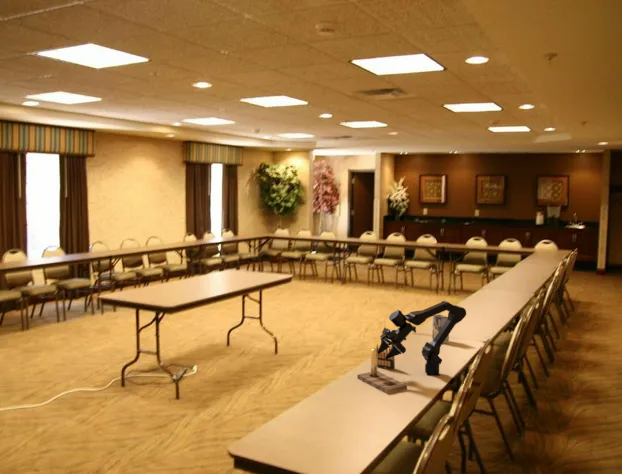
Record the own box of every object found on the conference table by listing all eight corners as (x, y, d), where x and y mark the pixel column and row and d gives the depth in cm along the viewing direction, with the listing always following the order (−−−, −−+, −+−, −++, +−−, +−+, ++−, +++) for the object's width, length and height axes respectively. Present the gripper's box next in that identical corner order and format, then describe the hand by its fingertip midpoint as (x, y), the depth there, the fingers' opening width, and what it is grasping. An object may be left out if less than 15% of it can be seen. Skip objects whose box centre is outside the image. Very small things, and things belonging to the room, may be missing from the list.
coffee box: (449, 343, 347) (450, 317, 346) (440, 344, 344) (441, 318, 343) (439, 339, 355) (440, 314, 354) (431, 340, 353) (432, 315, 351)
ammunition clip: (374, 366, 300) (375, 344, 299) (375, 365, 302) (376, 343, 301) (393, 369, 295) (394, 347, 294) (394, 368, 297) (395, 346, 296)
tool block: (357, 378, 281) (357, 374, 281) (376, 374, 287) (376, 370, 286) (386, 393, 260) (386, 389, 260) (406, 389, 266) (407, 385, 266)
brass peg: (377, 378, 280) (377, 348, 279) (377, 381, 277) (377, 350, 276) (370, 378, 280) (371, 348, 279) (370, 380, 277) (371, 350, 276)
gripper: (384, 318, 288) (363, 340, 286) (401, 326, 270) (379, 350, 268) (397, 332, 291) (377, 354, 289) (415, 341, 274) (393, 365, 271)
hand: (381, 355), depth 279 cm, fingers open, 9 cm apart
